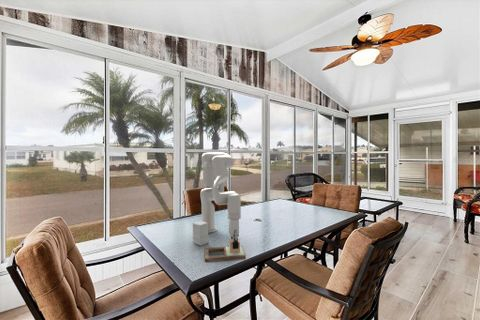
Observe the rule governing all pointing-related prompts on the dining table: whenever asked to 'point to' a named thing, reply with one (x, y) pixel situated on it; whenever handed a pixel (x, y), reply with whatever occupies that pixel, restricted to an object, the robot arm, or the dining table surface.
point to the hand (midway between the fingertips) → (234, 245)
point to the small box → (200, 233)
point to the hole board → (219, 252)
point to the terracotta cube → (232, 246)
